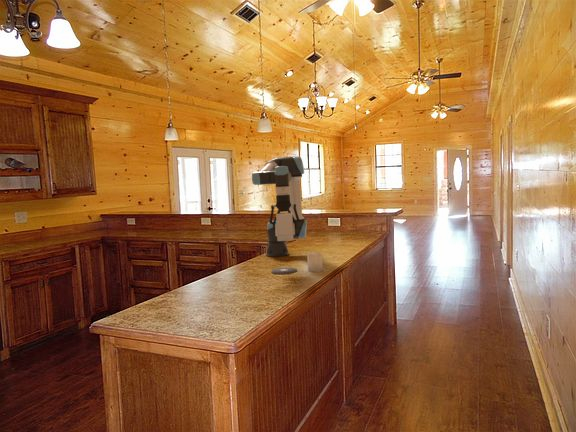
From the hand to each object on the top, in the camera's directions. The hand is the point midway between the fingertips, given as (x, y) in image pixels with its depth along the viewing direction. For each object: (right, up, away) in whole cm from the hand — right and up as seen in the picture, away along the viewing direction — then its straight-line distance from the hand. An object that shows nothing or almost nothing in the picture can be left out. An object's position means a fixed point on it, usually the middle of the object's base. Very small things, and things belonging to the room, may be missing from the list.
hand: (285, 235), depth 235 cm
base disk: (-1, -20, +1) cm, 20 cm away
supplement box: (0, -3, 0) cm, 3 cm away
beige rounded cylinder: (+17, -19, -1) cm, 25 cm away
